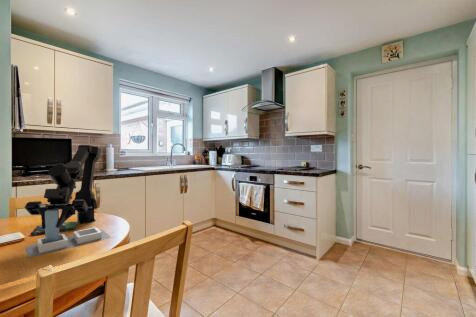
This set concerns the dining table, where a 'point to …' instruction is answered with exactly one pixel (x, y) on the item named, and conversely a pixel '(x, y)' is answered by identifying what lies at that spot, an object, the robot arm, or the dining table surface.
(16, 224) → the dining table surface
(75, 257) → the dining table surface
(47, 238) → the plug
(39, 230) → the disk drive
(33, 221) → the dining table surface
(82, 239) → the grey double socket base
